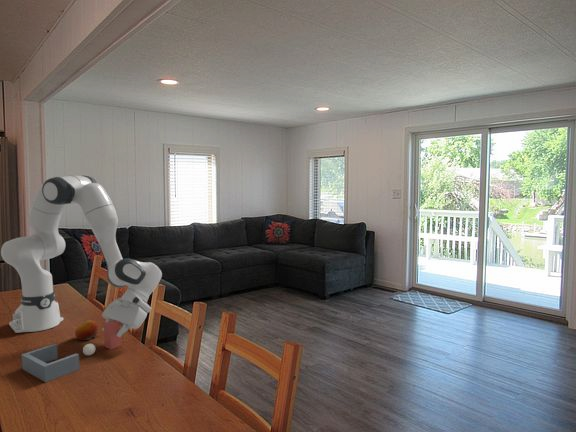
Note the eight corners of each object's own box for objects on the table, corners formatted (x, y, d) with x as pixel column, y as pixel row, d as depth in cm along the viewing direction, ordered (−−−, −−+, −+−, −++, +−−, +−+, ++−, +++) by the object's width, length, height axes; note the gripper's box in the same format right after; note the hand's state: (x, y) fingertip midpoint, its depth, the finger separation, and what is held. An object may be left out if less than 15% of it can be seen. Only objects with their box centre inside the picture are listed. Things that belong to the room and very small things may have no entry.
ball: (80, 355, 144) (80, 344, 143) (91, 351, 147) (91, 340, 146) (87, 358, 141) (86, 347, 141) (98, 354, 144) (97, 343, 144)
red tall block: (104, 346, 151) (103, 323, 150) (114, 343, 154) (113, 320, 153) (111, 349, 149) (109, 325, 148) (121, 345, 152) (119, 322, 151)
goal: (22, 369, 134) (21, 354, 133) (55, 357, 142) (54, 343, 142) (45, 382, 125) (44, 366, 124) (79, 369, 133) (78, 354, 133)
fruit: (93, 339, 154) (82, 321, 155) (78, 348, 156) (68, 330, 156) (107, 331, 162) (96, 314, 163) (92, 340, 164) (82, 323, 164)
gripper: (112, 293, 161) (89, 324, 154) (143, 301, 150) (120, 335, 143) (122, 301, 165) (101, 332, 158) (154, 309, 154) (132, 343, 147)
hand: (110, 333), depth 150 cm, fingers open, 7 cm apart
